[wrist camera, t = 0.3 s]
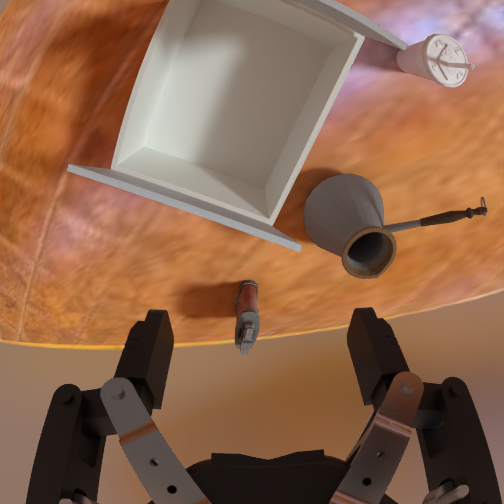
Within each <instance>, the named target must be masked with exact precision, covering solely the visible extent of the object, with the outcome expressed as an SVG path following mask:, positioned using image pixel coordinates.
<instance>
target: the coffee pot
mask: <svg viewBox="0 0 504 504" xmlns="http://www.w3.org/2000/svg"><path fill="white" fill-rule="evenodd" d="M482 199H483V202H484V207H483V206H482ZM486 212H487V208H486V205H485V201H484V198H483V197H481V207H478V208H476V209H471V208H467V210H466V211H449V212H445V213H441V214H437V215H434V216H430V217H426V218H422V219H420V220H415V221H409V222H403V223H397V224H391V225H385V226H384V207H383V200H382V197H381V195H380V193H379V191H378V189H377V188H376V187H375V186H374V185H373V183H372V182H370V181H369V180H367V179H365V178H364V177H362V176H358V175H354V174H339V175H336V176H332V177H329V178H328V179H326V180H324V181H323V182H321V183H320V184H319V185H318V186H317V187H316V188H315V189H314V190H313V191H312V192H311V194H310V195H309V197H308V199H307V200H306V203H305V207H304V210H303V224H304V227H305V230H306V233H307V234H308V236H309V237H310V239H311V240H312V241H313V242H314V243H315V244H316V245H317V246H319V247H320V248H322V249H325V250H327V251H329V252H331V253H334V254H336V255H338V256H340V257H342V263H343V266H344V268H345V270H346V271H347V272H348V273H349V274H350V275H352V276H354V277H356V278H362V279H371V278H377V277H379V276H380V275H381V274H382V273H383V272H384V271H385V270H386V269H387V268H388V267H389V266H390V264H391V263H392V262H393V260H394V257H395V255H396V250H397V248H396V241H395V238H394V236H393V235H392V234H391V233H392V232H396V231H401V230H405V229H410V228H414V227H419V226H429V225H436V224H443V223H450V222H455V221H457V220H460V219H463V218H465V217H468V218H470V219H471V218H472V217H473V216H474V215H476V214H477V215H482V214H483V215H484V216H486ZM484 213H485V214H484Z"/></svg>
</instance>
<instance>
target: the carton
mask: <svg viewBox="0 0 504 504" xmlns="http://www.w3.org/2000/svg"><path fill="white" fill-rule="evenodd" d="M364 39H365V37H364V36H362V35H360V34H358V33H356V32H355V31H353V30H351V29H349V28H348V27H346V26H344V25H342V24H340V23H338V22H336V21H334V20H332V19H330V18H328V17H326V16H324V15H322V14H320V13H318V12H316V11H314V10H312V9H309V8H307V7H305V6H303V5H300V4H298V3H296V2H293V1H291V0H169V2H168V4H167V7H166V9H165V11H164V13H163V15H162V17H161V19H160V21H159V24H158V26H157V28H156V30H155V33H154V35H153V37H152V40H151V42H150V45H149V47H148V49H147V52H146V54H145V57H144V60H143V62H142V65H141V67H140V70H139V73H138V76H137V79H136V81H135V84H134V87H133V90H132V93H131V96H130V99H129V102H128V106H127V109H126V112H125V115H124V119H123V122H122V126H121V129H120V133H119V136H118V140H117V144H116V148H115V152H114V156H113V160H112V164H111V169H112V170H115V171H118V172H122V173H125V174H128V175H131V176H134V177H137V178H140V179H143V180H146V181H149V182H151V183H154V184H157V185H160V186H163V187H166V188H169V189H172V190H175V191H178V192H181V193H183V194H186V195H189V196H192V197H195V198H198V199H201V200H203V201H206V202H209V203H212V204H215V205H217V206H220V207H223V208H226V209H228V210H231V211H234V212H237V213H239V214H242V215H245V216H248V217H250V218H253V219H256V220H258V221H261V222H264V223H266V224H269V225H271V226H273V224H274V222H275V220H276V218H277V216H278V214H279V212H280V210H281V208H282V206H283V204H284V202H285V200H286V198H287V196H288V194H289V192H290V190H291V188H292V186H293V184H294V182H295V180H296V178H297V176H298V174H299V172H300V170H301V168H302V166H303V164H304V162H305V160H306V158H307V156H308V153H309V151H310V149H311V147H312V145H313V143H314V141H315V139H316V137H317V135H318V133H319V131H320V129H321V127H322V125H323V123H324V121H325V119H326V117H327V115H328V113H329V111H330V109H331V107H332V105H333V103H334V101H335V99H336V97H337V95H338V93H339V91H340V89H341V86H342V84H343V82H344V80H345V78H346V76H347V74H348V72H349V70H350V68H351V66H352V64H353V62H354V60H355V58H356V56H357V54H358V52H359V50H360V47H361V45H362V43H363V41H364Z"/></svg>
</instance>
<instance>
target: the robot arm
mask: <svg viewBox="0 0 504 504" xmlns="http://www.w3.org/2000/svg"><path fill="white" fill-rule="evenodd" d="M347 344H348V348H349V351H350V355H351V358H352V362H353V365H354V369H355V372H356V376H357V380H358V383H359V387H360V391H361V395H362V398H363V402H364V405H371V404H373V407H374V411H373V413H372V415H371V417H370V419H369V420H368V422H367V424H366V426H365V428H364V430H363V432H362V434H361V435H360V437H359V439H358V441H357V443H356V444H355V446H354V447H353V449H352V450H351V452H350V454H349V455H348V457H347V458H346V460H345V461H343V460H341V459H338V458H335V457H331V456H326V455H324V450H323V449H322V450H313V451H302V452H295V453H292V454H288V455H285V456H281V457H278V458H274V459H270V460H266V459H261V458H256V457H251V456H246V455H242V454H223V453H212V455H211V459H208V460H204V461H201V462H198V463H196V464H193V465H192V466H190V467H188V468H187V469H185V468H184V467H183V465H182V464H181V463H180V461H179V460H178V458H177V457H176V455H175V454H174V453H173V451H172V450H171V448H170V447H169V445H168V444H167V442H166V440H165V439H164V437H163V436H162V434H161V433H160V431H159V429H158V428H157V426H156V425H155V423H154V421H153V420H152V418H151V415H152V410H153V409H161V405H162V400H163V395H164V390H165V385H166V380H167V375H168V370H169V365H170V360H171V355H172V351H173V346H174V336H173V331H172V327H171V323H170V319H169V315H168V312H167V310H152V309H150V310H149V311H148V313H147V316H146V319H145V321H138V322H137V323H136V324H135V325H134V326H133V327H132V328H131V329H130V332H129V335H128V338H127V340H126V343H125V348H124V349H123V352H122V355H121V358H120V361H119V363H118V366H117V369H116V373H115V375H114V378H112V379H110V380H108V381H107V382H106V383H105V384H104V385H103V386H102V388H99V389H93V390H86V391H81V390H80V389H79V388H78V387H77V386H76V385H73V384H65V385H62V386H60V387H59V388H58V389H57V390H56V391H55V393H54V395H53V398H52V401H51V403H50V407H49V410H48V413H47V416H46V419H45V423H44V426H43V429H42V433H41V437H40V440H39V444H38V448H37V452H36V456H35V460H34V464H33V468H32V473H31V478H30V483H29V488H28V493H27V499H26V504H99V503H97V494H98V486H99V478H100V472H101V465H102V459H103V453H104V447H105V442H106V436H107V435H114V434H118V436H119V438H120V440H119V442H120V445H121V447H122V449H123V451H124V453H125V455H126V457H127V458H128V460H129V462H130V464H131V466H132V467H133V469H134V471H135V473H136V474H137V476H138V478H139V479H140V481H141V483H142V484H143V486H144V488H145V489H146V491H147V492H148V494H149V496H150V497H151V499H152V500H151V501H150V502H149V503H148V504H398V503H397V502H395V501H394V500H393V499H391V498H390V497H389V496H388V495H386V494H385V491H386V489H387V487H388V485H389V483H390V482H391V479H392V477H393V475H394V473H395V471H396V469H397V467H398V465H399V463H400V461H401V458H402V456H403V454H404V451H405V449H406V447H407V444H408V442H409V440H410V437H411V431H410V428H416V431H417V435H418V440H419V444H420V448H421V453H422V457H423V461H424V467H425V472H426V477H427V482H428V488H429V493H428V494H427V495H426V496H425V498H424V500H423V503H422V504H502V500H501V496H500V491H499V486H498V482H497V478H496V473H495V469H494V465H493V462H492V459H491V455H490V451H489V448H488V444H487V441H486V438H485V435H484V432H483V429H482V426H481V423H480V420H479V417H478V414H477V411H476V409H475V406H474V403H473V400H472V398H471V395H470V393H469V390H468V388H467V386H466V384H465V383H464V382H463V381H462V380H461V379H459V378H456V377H449V378H447V379H445V380H444V381H443V383H442V384H433V383H425V382H422V380H421V378H420V377H419V376H418V375H416V374H414V373H412V372H410V370H409V368H408V365H407V363H406V361H405V358H404V356H403V353H402V351H401V349H400V346H399V345H398V342H397V339H396V337H395V335H394V332H393V330H392V328H391V326H390V325H389V324H388V323H387V322H386V321H385V320H384V319H383V318H377V316H376V314H375V311H374V309H373V308H372V307H368V308H355V310H354V312H353V315H352V319H351V322H350V326H349V329H348V333H347Z"/></svg>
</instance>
